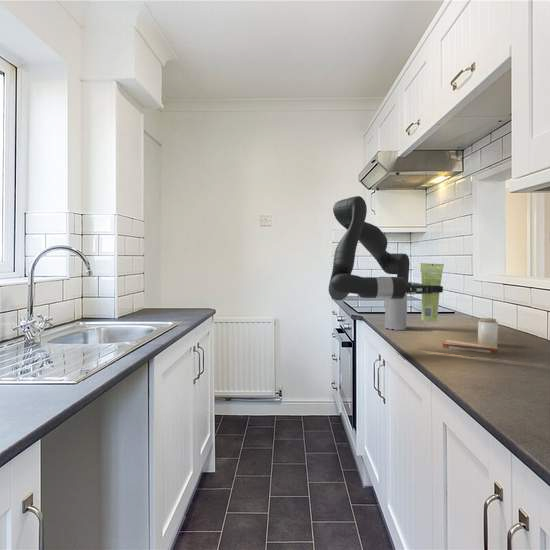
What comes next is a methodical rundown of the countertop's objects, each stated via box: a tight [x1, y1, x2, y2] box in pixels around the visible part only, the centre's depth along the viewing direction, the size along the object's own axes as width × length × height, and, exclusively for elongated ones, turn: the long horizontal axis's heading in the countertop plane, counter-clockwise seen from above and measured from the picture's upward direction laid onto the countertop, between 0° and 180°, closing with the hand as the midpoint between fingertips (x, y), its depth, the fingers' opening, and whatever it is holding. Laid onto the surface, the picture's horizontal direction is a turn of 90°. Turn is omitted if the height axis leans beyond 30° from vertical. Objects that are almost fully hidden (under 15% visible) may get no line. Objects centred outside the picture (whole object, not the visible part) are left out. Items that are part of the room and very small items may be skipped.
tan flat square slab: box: [442, 339, 499, 354], centre depth 131 cm, size 15×16×2 cm
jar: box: [477, 317, 499, 347], centre depth 133 cm, size 6×6×9 cm
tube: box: [419, 262, 445, 323], centre depth 129 cm, size 6×5×20 cm
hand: (439, 288), depth 129 cm, fingers closed on tube, 4 cm apart
